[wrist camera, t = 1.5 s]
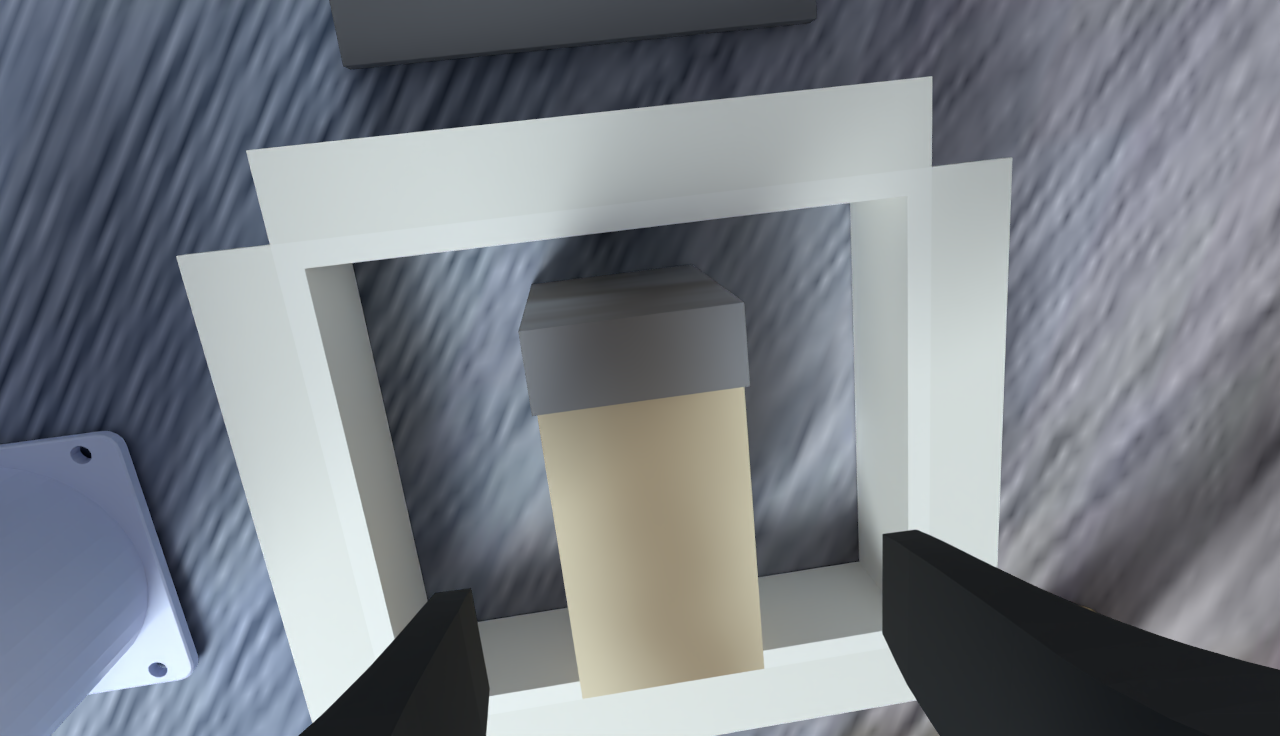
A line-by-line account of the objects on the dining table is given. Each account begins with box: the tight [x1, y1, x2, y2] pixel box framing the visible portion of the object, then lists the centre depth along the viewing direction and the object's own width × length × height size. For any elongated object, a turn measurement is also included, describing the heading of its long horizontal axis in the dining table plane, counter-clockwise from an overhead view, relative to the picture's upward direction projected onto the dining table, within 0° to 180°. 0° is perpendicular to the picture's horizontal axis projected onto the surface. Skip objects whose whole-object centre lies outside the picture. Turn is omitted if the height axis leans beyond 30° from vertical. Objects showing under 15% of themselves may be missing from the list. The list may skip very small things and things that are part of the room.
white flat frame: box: [176, 76, 1012, 736], centre depth 20 cm, size 19×17×4 cm
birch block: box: [518, 264, 764, 699], centre depth 18 cm, size 5×9×6 cm, turn 6°
